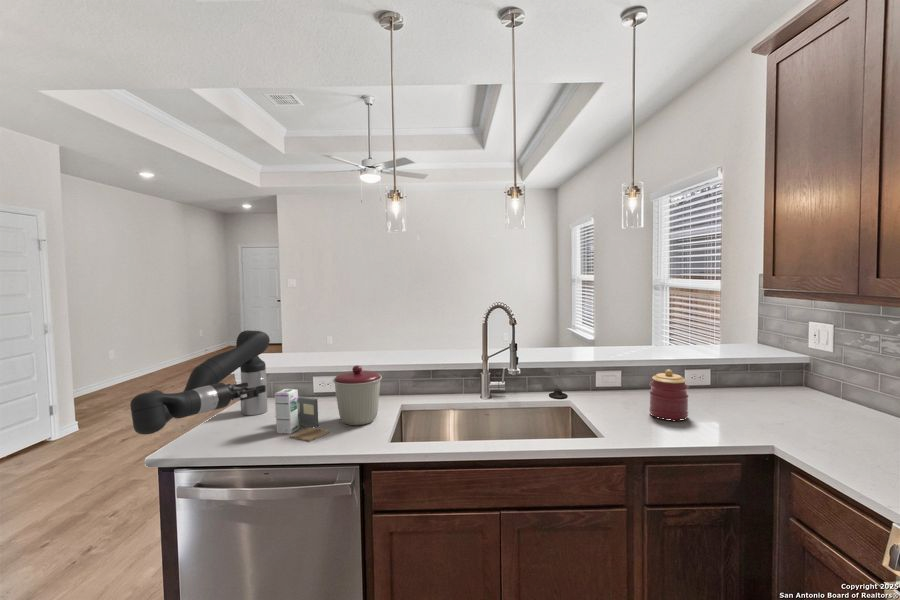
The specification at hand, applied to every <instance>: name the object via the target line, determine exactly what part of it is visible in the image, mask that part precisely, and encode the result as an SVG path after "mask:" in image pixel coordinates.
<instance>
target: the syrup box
mask: <svg viewBox="0 0 900 600" xmlns="http://www.w3.org/2000/svg"><path fill="white" fill-rule="evenodd" d="M298 391H299V390H298V388H283V389H282V390H279V391H277V392H275V393H274V405H275V422H276V433H277V434H282V433H285V435H292V434H294V432H296V431H298V430H300V428H301V427H300V421H299V404H298V396H299V393H298ZM286 433H287V434H286ZM291 433H292V434H291Z"/></svg>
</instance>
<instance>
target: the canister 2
mask: <svg viewBox="0 0 900 600" xmlns="http://www.w3.org/2000/svg"><path fill="white" fill-rule="evenodd" d="M651 378H652V381H650V382H649V386H650V390H649V407H648V408H649V414H652V415H653V416H655V417H659V418H664V419H671V420H680V419H685V418H687V419H688V417H689V407H688V406H689V394H688V389H689V388H690V386H689V384H687V383H686V382H687V379H685V378H684V377H683V376H682V375H679V374H676V373H673V370H671V369H670V368H669V369H665V370H664V372H659V373H657V374H655V375H653V376H652V377H651ZM653 416H652V417H653ZM655 417H654V418H655Z"/></svg>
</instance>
